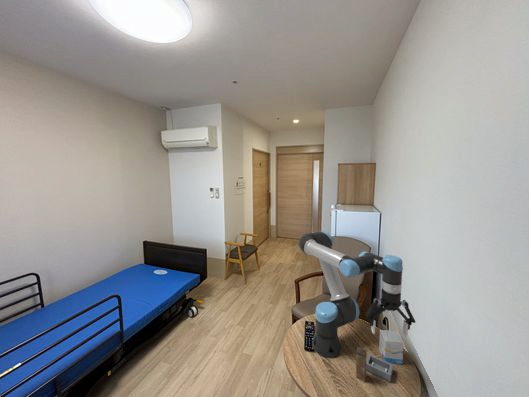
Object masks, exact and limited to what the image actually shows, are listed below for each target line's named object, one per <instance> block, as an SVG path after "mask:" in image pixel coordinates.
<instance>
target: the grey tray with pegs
mask: <svg viewBox="0 0 529 397" xmlns="http://www.w3.org/2000/svg"><path fill="white" fill-rule="evenodd" d="M393 364H394V363H389V362H386V361H384V359H383V358H380V357H378V356H374V355H372V354H370V353H368V355H367V357H366V373H370V374H372V375H374V376H376V377H377V378H380V379H382V380H383V381H386V382H388V383H392V382H391V381H392V375H393Z"/></svg>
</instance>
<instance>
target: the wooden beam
mask: <svg viewBox="0 0 529 397" xmlns="http://www.w3.org/2000/svg"><path fill="white" fill-rule="evenodd" d="M355 354H356V359H355V361H356V365H355V366H356V367H355V369H356V370H355V371H356V373H355V376H356V377H355V378H356V379H357V380H359V381H361V382H363V383H365V381H366V378H367V371H366V361H367V350H366V349H364V348H361V347H357V349H356V353H355Z"/></svg>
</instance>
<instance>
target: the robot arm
mask: <svg viewBox="0 0 529 397" xmlns="http://www.w3.org/2000/svg"><path fill="white" fill-rule="evenodd" d="M333 245H334V240H333V237H332V234H330V233H329V232H327V231H324V230H322V231H321V230H319V231H313V232H310V233H309V232H307V233H304V234H303V235H301V237H300V238H299V239H298V247H299V250H301V252H302V253H304V254H306V255H307V256H314V257H315V258H317V259H318V262H319V265H320V266H321V270H322V272H323V275H324V278H325V281H326V284H327V287H328V290H329V293H330V295H331V297H330V299H329V300H330V301H327V302H326V301H321V302H320V303H318V304H317V305H316V307H315V314H314V316H315V333H314V334H313V338H312V348H313V347H314V348H313V350H314V351H315V352H316V353H317V354H318V355H319V356H321V357H324V358H327V359H329V358H331V359H332V358H336V357H338V356H339V355H340V354H341V351H342V346H341V344H342V343H341V341H340V339H339V336H338V328H340V327H343V326H345V325H348V324H350V323H353V322H355V321H357V319H358V318H359V316H360V308H359V305H358V303H357V301H356V300H355V299H354V298H352V297H351V295H350V294H349V293H347V292H346V289H345V286H344V285H343V281H342V279H341V277H340V274H339V271H340V273H341V274H342V275H343V277H345V278H352V277H353V278H354V277H357V276H359V275H362V274H365V273H368V272H372V271H373V272H376V273H378V274H381V277H382V278H381V295H380V296H381V298H380V299H378V298H376V297H374V298H373V299H372V303H371V304H370V305H369V307H368V309H367V311H366V312H365V317H366V319H369V322H368V323H369V325H370V328H371V332H372V334H373V335H376V320H375V319H377V318H378V317H379V316H380V315H381V314H382V313H383V312H386V311H389V312H390V311H391V312H395V311H397V312H398V313H399V315H401V317H402V318H403V321H402V322H403V323H402V334H403V335H404V337H405V338H408V332H409V331H410V330H411V326H412V325H413V324H415V323H416V320H415V318H414V316H413V313H412V311H411V310H410V308H409V302H408V301H406V300H405V299H403V300H402V293H401V292H402V282H403V280H402V278H403V277H402V276H403V270H404V267H403V260H402V258H401V257H400V256H396V255H392V254H385V255H384V256H383V257H382V256H381V255H380V256H379V255H377V254H375V253H373V252H371V251H370V252H369V251H365V250H364V251H361V253H359V254H358V256H356V257H352V256H349V255H347V254H345V253H342V252H340V251H337V250H335V249H333V248H332V247H333ZM338 269H339V271H338ZM401 300H402V301H401ZM401 306H403V308H404V310H405V312H406V314H407V315H406V314H405V313H404V312H403V310H401V309H400V307H401ZM407 316H408V317H407Z"/></svg>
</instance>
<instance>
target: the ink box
mask: <svg viewBox="0 0 529 397" xmlns="http://www.w3.org/2000/svg"><path fill="white" fill-rule="evenodd" d="M378 346H379V350H378V351H379V352H380V354H381V357H382V360H384V361H386V362H389V363H391V364H397V365H403V363H404V341H403V339H401V336H400V335H399V333H398V332H397V330H387V329H380V330H379V345H378Z"/></svg>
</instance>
